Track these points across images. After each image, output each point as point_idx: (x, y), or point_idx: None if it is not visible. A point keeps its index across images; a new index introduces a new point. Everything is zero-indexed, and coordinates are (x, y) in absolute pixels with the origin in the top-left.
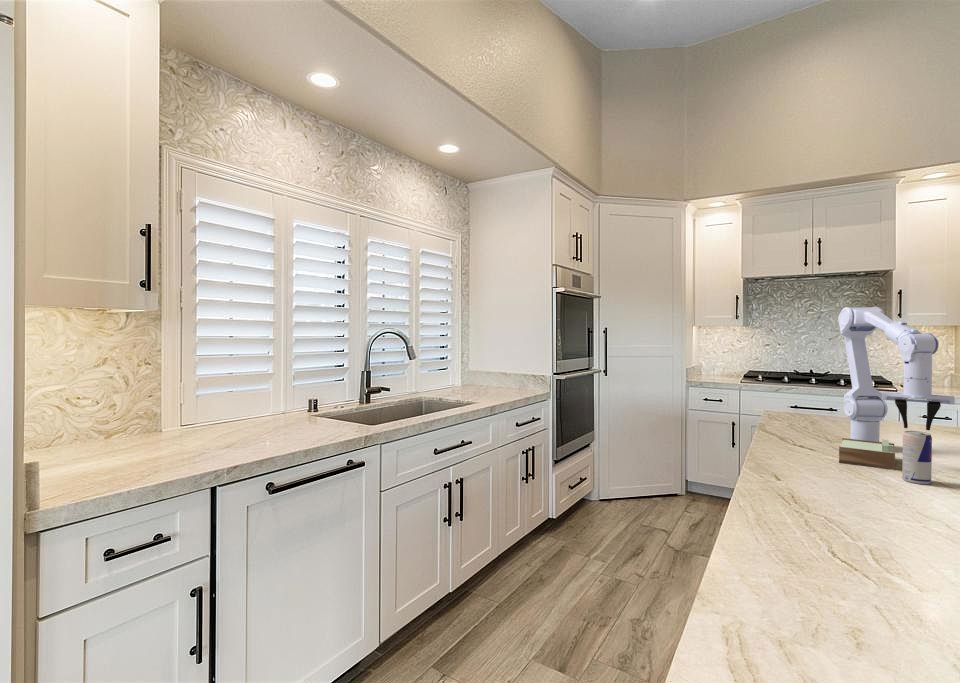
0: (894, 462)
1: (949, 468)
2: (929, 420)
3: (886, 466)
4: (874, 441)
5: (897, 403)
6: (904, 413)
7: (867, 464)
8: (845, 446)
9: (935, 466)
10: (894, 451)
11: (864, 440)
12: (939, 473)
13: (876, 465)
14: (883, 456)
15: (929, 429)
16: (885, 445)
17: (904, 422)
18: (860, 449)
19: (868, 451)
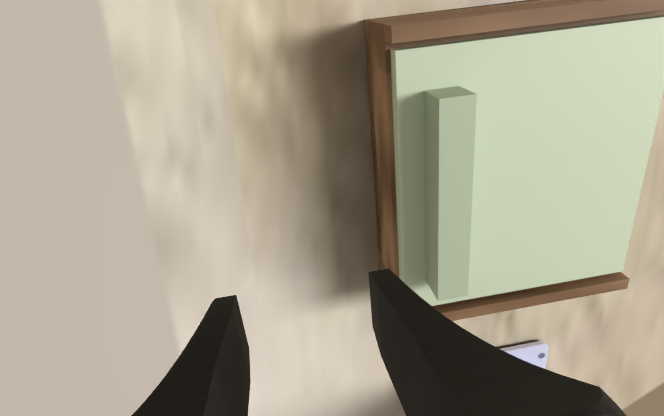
0: (377, 21)
1: (167, 262)
2: (202, 354)
3: (406, 16)
4: (488, 313)
5: (618, 414)
6: (445, 345)
7: (492, 5)
8: (643, 79)
9: (221, 258)
10: (392, 207)
11: (531, 304)
12: (178, 115)
13: (451, 10)
14: (443, 16)
15: (214, 303)
16: (457, 109)
17: (406, 290)
18: (581, 3)
19: (533, 8)
